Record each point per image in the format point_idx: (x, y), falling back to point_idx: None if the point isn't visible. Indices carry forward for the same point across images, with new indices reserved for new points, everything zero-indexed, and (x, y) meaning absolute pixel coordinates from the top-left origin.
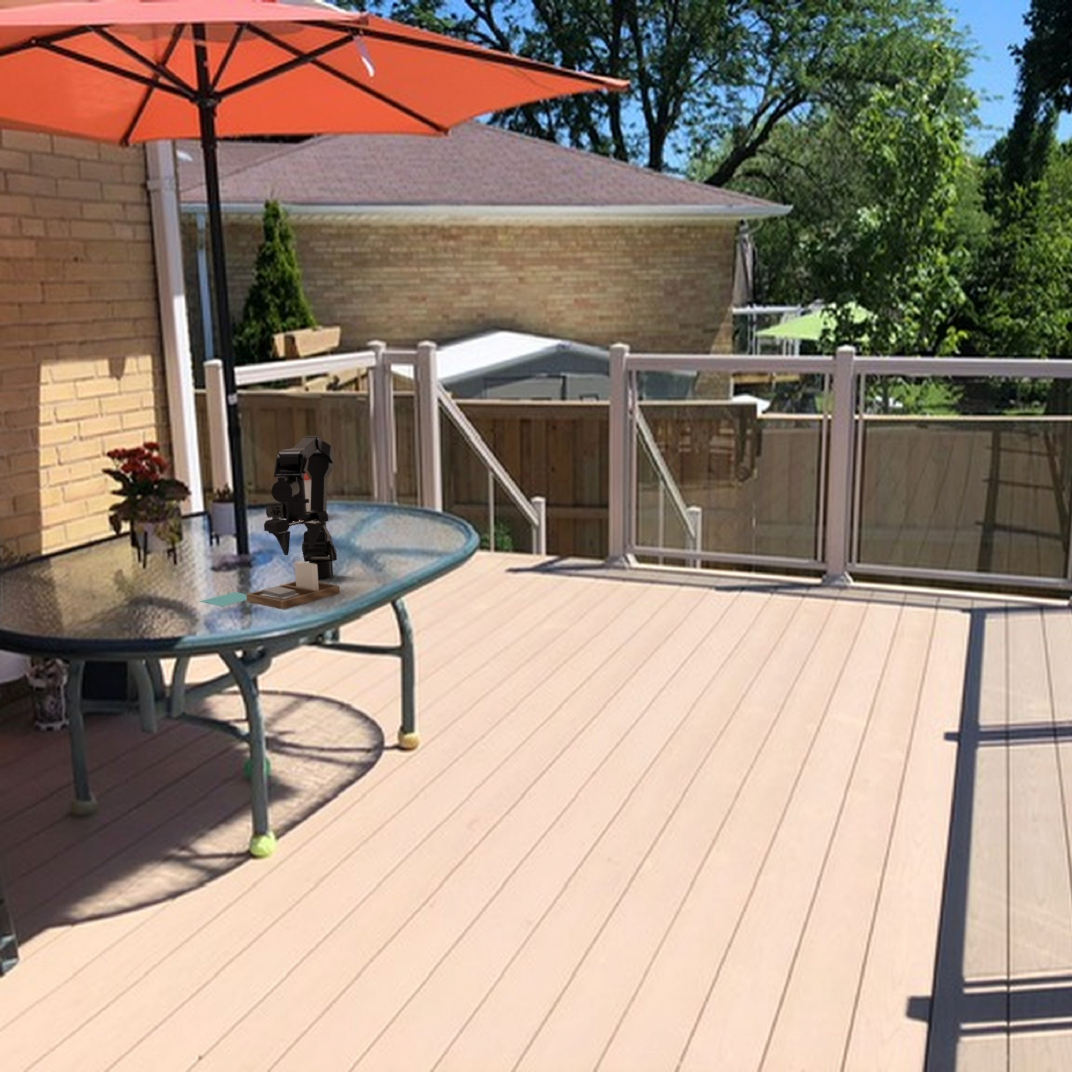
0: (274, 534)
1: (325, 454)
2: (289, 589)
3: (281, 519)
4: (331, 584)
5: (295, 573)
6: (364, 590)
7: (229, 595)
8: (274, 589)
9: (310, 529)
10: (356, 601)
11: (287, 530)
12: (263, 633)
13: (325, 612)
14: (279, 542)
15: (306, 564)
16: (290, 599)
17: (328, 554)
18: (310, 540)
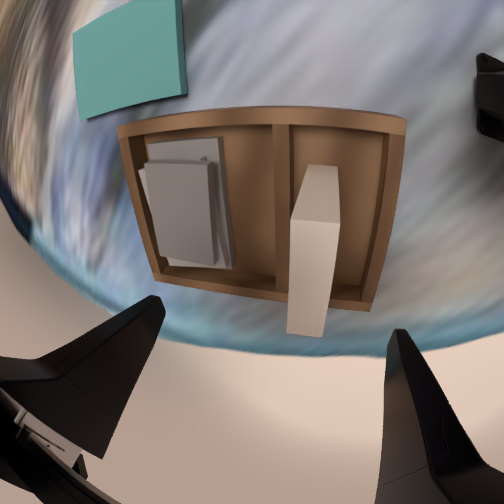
0: (20, 366)
1: None
2: (207, 243)
3: (25, 487)
4: (377, 283)
5: (299, 193)
6: (442, 301)
7: (138, 15)
8: (173, 197)
9: (407, 484)
10: (339, 340)
11: (82, 456)
12: (106, 306)
13: (233, 331)
14: (78, 345)
15: (290, 305)
16: (177, 284)
17: None
18: (396, 392)
